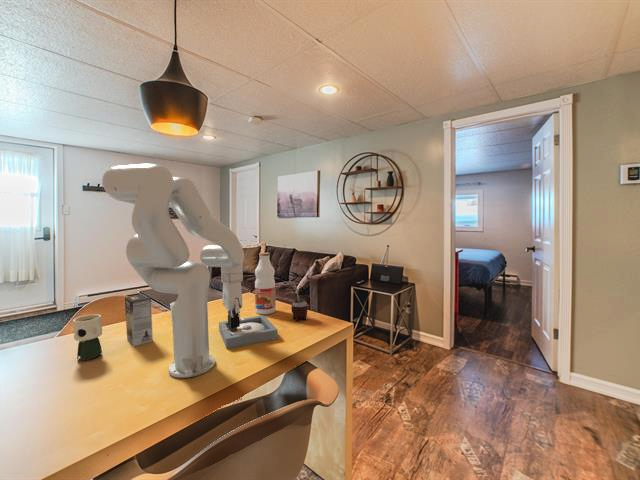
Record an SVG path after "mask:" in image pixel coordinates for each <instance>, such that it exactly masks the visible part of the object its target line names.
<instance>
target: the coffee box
mask: <svg viewBox="0 0 640 480" xmlns="http://www.w3.org/2000/svg"><path fill="white" fill-rule="evenodd" d="M124 306H125V307H124V308H125V309H124V311H125V324H126V325H125V326H126V327H125V328H126V339H127V341H128V342H129V343H130V344H131V345H132V346H133V347H137V346H141V345H145V344H147V343H152V342H154V340H153V320H152V319H153V318H152V317H153V316H152V313H153V312H152V298H151V297H149V296H148V295H146V294H145V293H140V294H136V295H135V294H134V295H130V296H125V297H124Z"/></svg>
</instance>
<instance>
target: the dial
mask: <svg viewBox="0 0 640 480" xmlns="http://www.w3.org/2000/svg"><path fill="white" fill-rule="evenodd" d="M233 312H234V311H233ZM228 315H230V317H231V310H230V311H229V314H228ZM261 330H264V326H263V325H262V324H260V323H242V324H240V326H239V327H236V328H231V324H230V334H231V336H233V335H238V334H244V333H249V332H255V331H261Z"/></svg>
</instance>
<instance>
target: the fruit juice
mask: <svg viewBox="0 0 640 480" xmlns="http://www.w3.org/2000/svg"><path fill="white" fill-rule="evenodd" d="M258 255H259V260H258V263H257V265H256V268H255V270H254V275H255V281H254V300H255V301H254V302H255V305H254V306H255V313H256V314H259V315H271V314H274V313H275V312H276V310H277V309H276V308H277V306H276V305H277V304H276V303H277V302H276V281H275V273H276V272H275V268H274V267H273V265H272V262H271V260H270V257H271V256H270V255H271V254H270V252H268V251H267V252H265V251H264V252H259V253H258Z"/></svg>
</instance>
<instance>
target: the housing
mask: <svg viewBox="0 0 640 480" xmlns="http://www.w3.org/2000/svg"><path fill="white" fill-rule="evenodd" d="M242 323H260V324H262V325H263V326H264V330H261V331H255V332H249V333H244V334H238V335H233V336H231V334H230V325H228V320H223V321H219V322H218V332H219V333H220V336H221V338H222V341H223V343H224V346H225V349H226V350H228V349H234V348H239V347H243V346H244V347H245V346H248V345H255V344H259V343H264V342H269V341H274V340H278V339H279V338H278V337H279V336H278V329H277V328H276V327H275V325H274V324H273V323H272V322H271V321H270V320H269V319H268V317H266V316H265V314H261V315H256V316H250V317H244V318H243V317H242V318H240V324H242Z"/></svg>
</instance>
